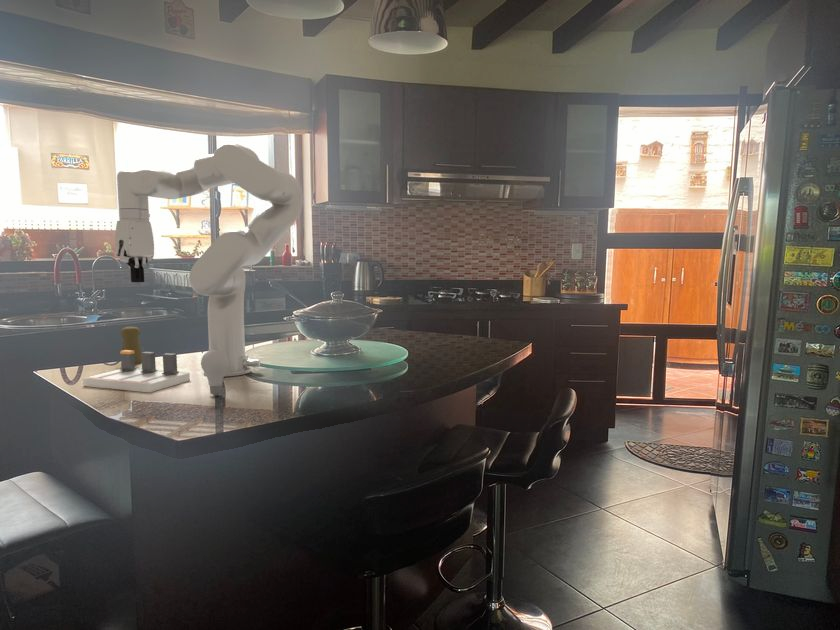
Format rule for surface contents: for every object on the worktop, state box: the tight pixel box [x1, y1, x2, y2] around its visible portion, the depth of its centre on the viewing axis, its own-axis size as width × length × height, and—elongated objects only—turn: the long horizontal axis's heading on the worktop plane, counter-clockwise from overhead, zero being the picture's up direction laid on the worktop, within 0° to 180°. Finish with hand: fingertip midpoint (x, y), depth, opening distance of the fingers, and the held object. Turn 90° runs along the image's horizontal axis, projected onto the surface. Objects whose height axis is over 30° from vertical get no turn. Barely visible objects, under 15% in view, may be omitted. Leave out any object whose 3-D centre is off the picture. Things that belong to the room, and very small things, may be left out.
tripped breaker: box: [119, 350, 137, 371], centre depth 158 cm, size 3×3×5 cm
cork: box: [120, 326, 142, 365], centre depth 178 cm, size 6×6×11 cm
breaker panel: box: [82, 367, 191, 393], centre depth 152 cm, size 14×21×2 cm, turn 71°
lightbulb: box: [200, 350, 229, 397], centre depth 138 cm, size 6×6×11 cm
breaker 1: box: [140, 351, 158, 373], centre depth 155 cm, size 3×3×5 cm
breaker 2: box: [162, 352, 180, 375], centre depth 153 cm, size 3×3×5 cm
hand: (137, 282), depth 166 cm, fingers closed
